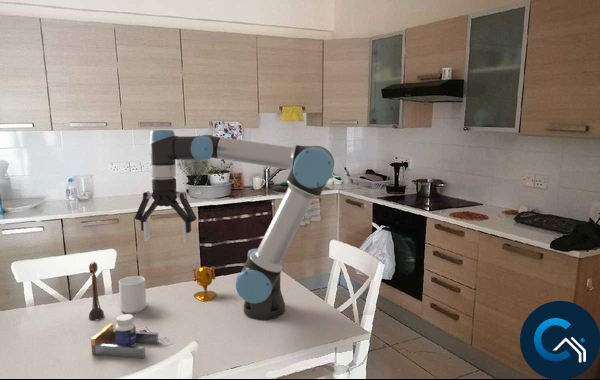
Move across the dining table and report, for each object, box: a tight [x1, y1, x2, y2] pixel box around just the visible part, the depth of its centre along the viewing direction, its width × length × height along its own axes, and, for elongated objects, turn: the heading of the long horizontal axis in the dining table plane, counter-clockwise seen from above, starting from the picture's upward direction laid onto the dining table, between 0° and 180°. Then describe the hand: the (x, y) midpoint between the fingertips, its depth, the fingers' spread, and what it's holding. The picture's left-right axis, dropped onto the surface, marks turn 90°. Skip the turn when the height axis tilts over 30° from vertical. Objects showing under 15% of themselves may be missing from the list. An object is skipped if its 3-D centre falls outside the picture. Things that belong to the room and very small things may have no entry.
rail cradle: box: [90, 323, 159, 359], centre depth 133 cm, size 16×10×5 cm, turn 83°
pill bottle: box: [114, 313, 137, 346], centre depth 132 cm, size 6×6×10 cm
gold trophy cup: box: [192, 265, 217, 303], centre depth 172 cm, size 8×11×12 cm
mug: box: [118, 275, 147, 315], centre depth 161 cm, size 12×9×11 cm
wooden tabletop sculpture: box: [88, 261, 105, 321], centre depth 152 cm, size 6×5×20 cm
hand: (166, 241), depth 146 cm, fingers open, 13 cm apart
